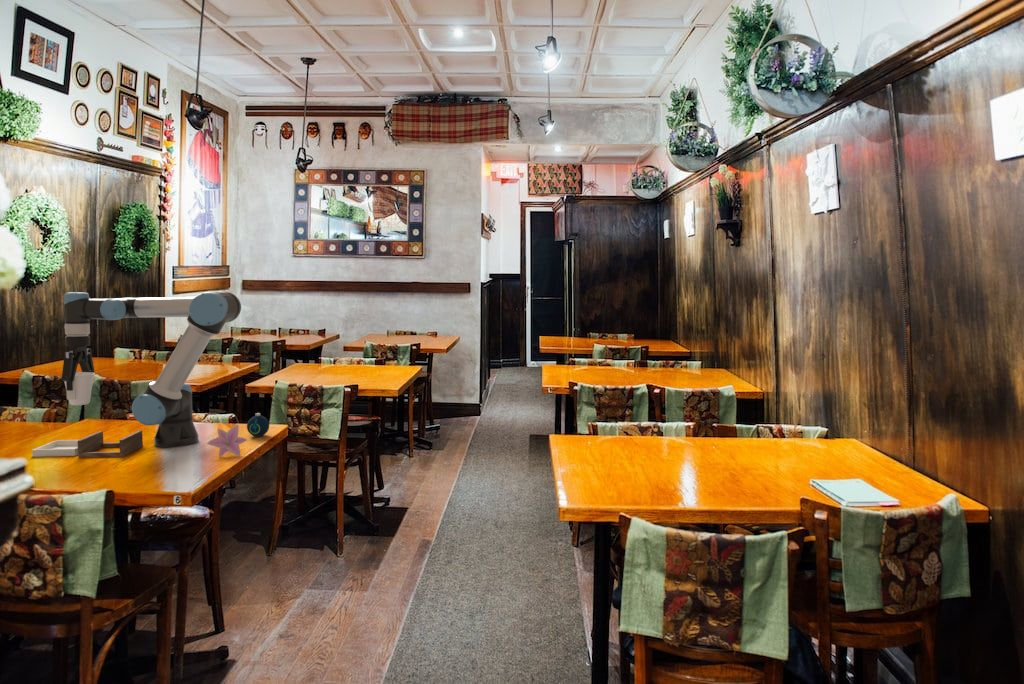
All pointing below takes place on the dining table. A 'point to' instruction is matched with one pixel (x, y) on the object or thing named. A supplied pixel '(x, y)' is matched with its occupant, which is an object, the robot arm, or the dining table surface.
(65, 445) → the tray
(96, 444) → the cup holder
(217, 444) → the lily
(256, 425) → the christmas ornament
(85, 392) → the cup
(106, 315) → the robot arm
